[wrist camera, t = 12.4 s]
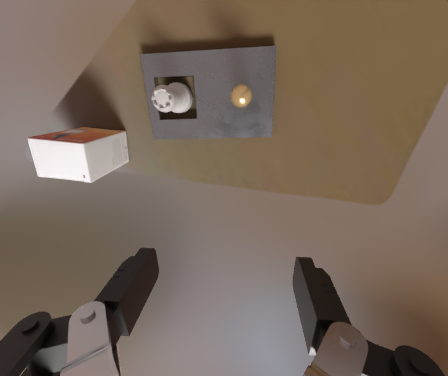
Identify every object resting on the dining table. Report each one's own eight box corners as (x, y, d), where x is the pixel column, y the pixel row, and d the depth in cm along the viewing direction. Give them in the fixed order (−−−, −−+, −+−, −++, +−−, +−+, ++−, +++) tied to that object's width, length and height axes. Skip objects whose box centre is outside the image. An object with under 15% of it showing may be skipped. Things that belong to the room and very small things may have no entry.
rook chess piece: (160, 91, 34) (136, 90, 26) (184, 76, 32) (166, 71, 25) (175, 117, 35) (156, 124, 28) (198, 104, 34) (185, 107, 27)
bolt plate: (274, 47, 30) (286, 28, 21) (270, 135, 35) (278, 148, 26) (144, 56, 32) (106, 41, 23) (157, 137, 37) (129, 150, 28)
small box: (127, 130, 37) (84, 143, 27) (130, 162, 39) (91, 183, 29) (82, 125, 37) (24, 136, 28) (87, 157, 39) (36, 177, 30)
